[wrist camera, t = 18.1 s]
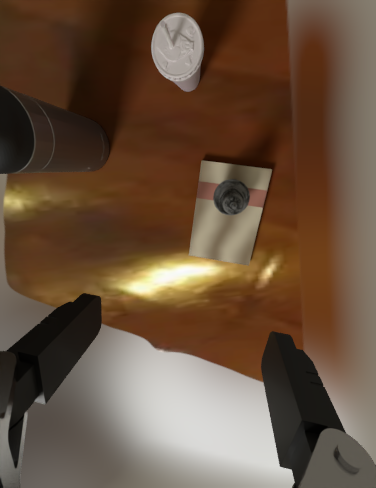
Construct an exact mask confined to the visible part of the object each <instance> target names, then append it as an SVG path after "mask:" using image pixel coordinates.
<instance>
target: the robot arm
mask: <svg viewBox="0 0 376 488" xmlns="http://www.w3.org/2000/svg"><path fill="white" fill-rule="evenodd" d="M108 156H109V142H108V138H107V136H106V133H105V131H104V130H103V129H102V127H101V126H100V125H99V124H98V123H96V122H95V121H93V120H91V119H88V118H86V117H83V116H81V115H78V114H76V113H73V112H70V111H68V110H65V109H62V108H60V107H57V106H54V105H52V104H49V103H46V102H43V101H41V100H38V99H35V98H33V97H30V96H27V95H25V94H22V93H19V92H16V91H14V90H11V89H8V88H6V87H3V86H0V174H9V173H44V172H89V171H96V170H98V169H100V168H101V167H102V166H103V165H104V164H105V163H106V161H107V159H108ZM101 322H102V319H101V298H100V296H96V295H91V294H86V293H83V294H82V295H80V296H79V297H78V298H77V299H76V300H75V301H74V302H68V303H66V304H64V305H62V306H60V307H58V308H56V309H55V310H54V311H53V312H52V313H51V314H49V315H48V317H46V318H45V319H44V320H42V321H41V323H40V324H38V325H37V326H35V327H34V328H33V329H32V330H30V331H29V332H28V333H27V334H26V335H25V336H23V337H22V338H21V339H20V340H19V341H18V342H16V343H15V344H14V345H13V346H12V347H10V348H9V349H8V350H7V351H0V488H20V474H21V465H22V456H23V448H24V438H25V431H26V423H27V410H28V408H29V407H30V406H31V405H32V404H33V402H38V403H42V404H46V403H47V402H48V400H49V399H50V398H51V396H52V395H53V394H54V392H55V391H56V390H57V388H58V387H59V386H60V384H61V383H62V382H63V380H64V379H65V378H66V376H67V375H68V374H69V372H70V371H71V370H72V368H73V367H74V366H75V364H76V363H77V362H78V360H79V359H80V358H81V356H82V355H83V354H84V352H85V351H86V350H87V348H88V347H89V346H90V344H91V343H92V342H93V340H94V339H95V338H96V336H97V335H98V333H99V330H100V328H101ZM261 370H262V376H263V381H264V386H265V392H266V397H267V402H268V407H269V412H270V417H271V423H272V428H273V433H274V438H275V443H276V448H277V453H278V459H279V464H280V467H284V468H288V469H292V472H293V476H294V481H295V483H294V485H293V486H292V488H376V465H375V464H374V462H373V460H372V458H371V457H370V456H369V454H368V453H367V452H366V450H365V449H364V448H363V447H362V446H361V445H360V444H359V443H358V442H357V441H356V440H355V439H353V438H352V437H351V436H349V435H348V434H346V432H345V430H344V428H343V426H342V423H341V421H340V419H339V417H338V415H337V413H336V411H335V409H334V406H333V404H332V402H331V400H330V398H329V396H328V394H327V391H326V389H325V387H323V383H322V381H321V379H320V377H319V376H318V372H317V370H316V368H315V366H314V364H313V362H312V361H311V359H310V358H309V357H308V356H307V355H306V353H305V352H304V351H303V350H299V349H296V347H295V344H294V342H293V339H292V337H291V336H290V335H288V334H283V333H278V332H273V331H272V332H271V333H270V335H269V338H268V341H267V344H266V347H265V350H264V354H263V357H262V363H261Z"/></svg>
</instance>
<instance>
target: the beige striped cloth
mask: <svg viewBox="0 0 376 488" xmlns="http://www.w3.org/2000/svg"><path fill="white" fill-rule="evenodd" d="M271 173H272V169H265V168H258V167H250V166H242V165H234V164H226V163H219V162H211V161H203V160H202V162H201V169H200V176H199V184H198V191H197V199H196V206H195V213H194V221H193V228H192V236H191V243H190V250H189V255H191V256H197V257H202V258H208V259H214V260H220V261H225V262H231V263H237V264H243V265H249V263H250V259H251V255H252V250H253V246H254V242H255V238H256V234H257V230H258V226H259V222H260V218H261V214H262V210H263V206H264V202H265V198H266V193H267V189H268V185H269V181H270V177H271ZM229 179H237V180H239V181H241V182H243V183H244V184H245V185H246V186H247V187H248V190H249V193H250V200H249V203H248V206H247V207H246V208H245V210H243V211H242V212H241V213H239V214H237V215H232V216H231V215H225V214H222V213H221V212H219V211H218V209H217V208H216V207H215V205H214V201H213V196H214V192H215V189H216V188H217V186H218V185H219V184H220V183H221V182H223V181H225V180H229Z"/></svg>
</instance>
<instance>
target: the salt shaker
mask: <svg viewBox="0 0 376 488" xmlns="http://www.w3.org/2000/svg"><path fill="white" fill-rule="evenodd" d="M249 200H250V193H249V190H248V187H247V186H246V185H245V184H244V183H243V182H241V181H239V180H237V179H229V180H225V181H223V182H221V183H220V184H219V185H218V186H217V188H216V189H215V192H214V196H213V201H214V205H215V207H216V208H217V209H218V211H219V212H221V213H222V214H225V215H231V216H232V215H237V214H239V213H241V212H242V211H243V210H245V208H246V207H247V206H248V203H249Z"/></svg>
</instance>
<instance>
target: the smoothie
mask: <svg viewBox="0 0 376 488" xmlns="http://www.w3.org/2000/svg"><path fill="white" fill-rule="evenodd" d="M151 49H152V56H153V60H154V62H155V64H156V67H157V68H158V70H159V72H160V73H161V74H162V75H163V76H164V77H165V78H167V79H169V80H171V81H173V82H174V83H176V84H177V85H178V86H179V87H180V88H181V89H182V90H184V91H187V92H189V91H192V90H194V89H195V88H196V87H197V86H198V84H199V80H200V66H201V61H202V59H203V54H204V41H203V37H202V33H201V30H200V28H199V26H198V24H197V23H196V21H195V20H194V19H193V18H191V17H190V16H189V15H187V14H184V13H173V14H170V15H168V16H166V17H165V18H164V19H162V20H161V22H160V23H159V24H158V26H157V27H156V29H155V31H154V34H153V38H152V44H151Z"/></svg>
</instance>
